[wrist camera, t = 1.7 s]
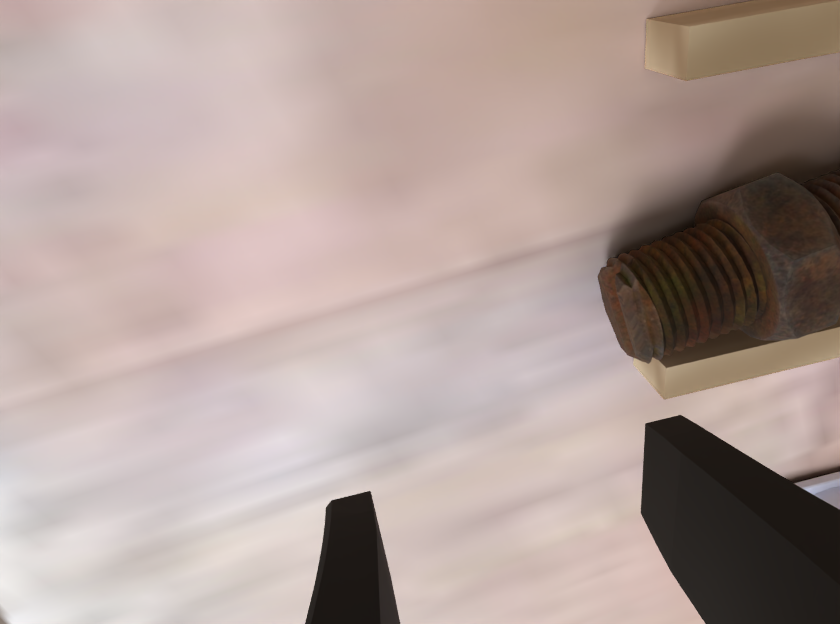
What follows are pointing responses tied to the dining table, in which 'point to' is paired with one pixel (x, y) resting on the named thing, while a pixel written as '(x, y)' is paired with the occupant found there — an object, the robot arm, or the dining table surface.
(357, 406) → the dining table surface
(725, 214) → the bolt
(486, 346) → the dining table surface
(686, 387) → the guide channel
